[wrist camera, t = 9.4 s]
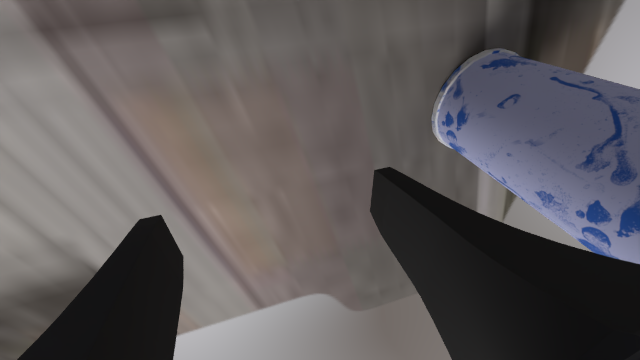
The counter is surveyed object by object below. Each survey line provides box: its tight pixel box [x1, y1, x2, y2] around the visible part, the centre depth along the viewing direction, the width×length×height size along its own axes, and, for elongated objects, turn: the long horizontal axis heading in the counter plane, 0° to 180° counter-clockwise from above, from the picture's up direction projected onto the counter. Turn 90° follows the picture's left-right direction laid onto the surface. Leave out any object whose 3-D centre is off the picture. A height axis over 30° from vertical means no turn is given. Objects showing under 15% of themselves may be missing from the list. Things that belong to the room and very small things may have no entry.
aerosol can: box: [431, 48, 640, 264], centre depth 14 cm, size 8×8×20 cm
